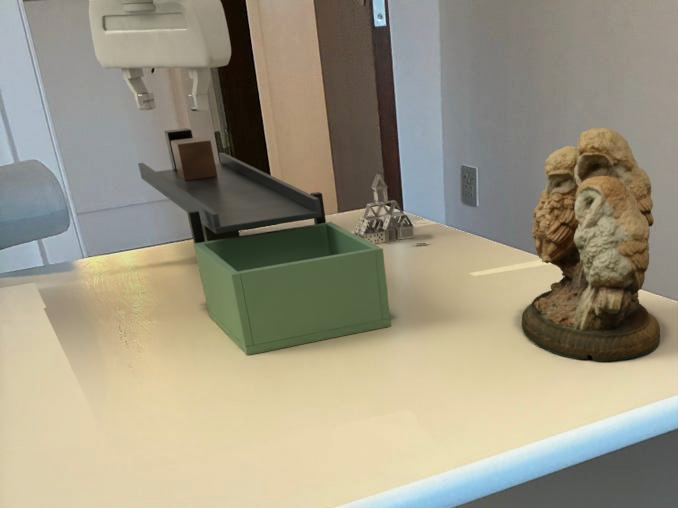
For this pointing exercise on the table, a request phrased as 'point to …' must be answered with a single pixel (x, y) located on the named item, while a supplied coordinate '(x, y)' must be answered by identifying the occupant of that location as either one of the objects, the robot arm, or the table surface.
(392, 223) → the house of cards
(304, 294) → the green storage bin
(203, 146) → the block
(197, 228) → the stand
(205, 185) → the grey slide chute
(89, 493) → the table surface
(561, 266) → the owl figurine
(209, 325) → the table surface
